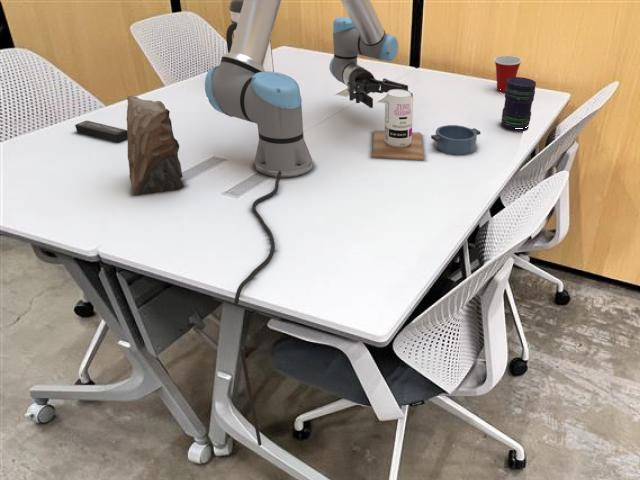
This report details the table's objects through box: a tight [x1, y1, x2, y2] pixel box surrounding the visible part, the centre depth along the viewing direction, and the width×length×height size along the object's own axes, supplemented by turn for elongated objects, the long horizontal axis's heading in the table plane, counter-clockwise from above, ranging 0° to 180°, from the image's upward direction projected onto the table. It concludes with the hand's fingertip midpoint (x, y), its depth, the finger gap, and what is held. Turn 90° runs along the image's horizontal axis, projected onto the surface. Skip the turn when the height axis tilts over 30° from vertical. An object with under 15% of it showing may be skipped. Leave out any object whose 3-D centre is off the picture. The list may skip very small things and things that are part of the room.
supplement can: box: [384, 89, 414, 148], centre depth 174 cm, size 8×8×15 cm
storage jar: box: [500, 76, 537, 133], centre depth 197 cm, size 10×10×15 cm
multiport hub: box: [74, 120, 128, 144], centre depth 166 cm, size 4×14×2 cm, turn 71°
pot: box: [430, 124, 482, 156], centre depth 182 cm, size 13×17×4 cm
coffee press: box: [225, 0, 275, 73], centre depth 203 cm, size 17×16×30 cm
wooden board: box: [371, 129, 424, 161], centre depth 179 cm, size 20×15×1 cm
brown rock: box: [125, 95, 185, 196], centre depth 141 cm, size 13×13×20 cm
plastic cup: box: [493, 55, 523, 94], centre depth 228 cm, size 11×11×12 cm
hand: (392, 100), depth 174 cm, fingers open, 13 cm apart
